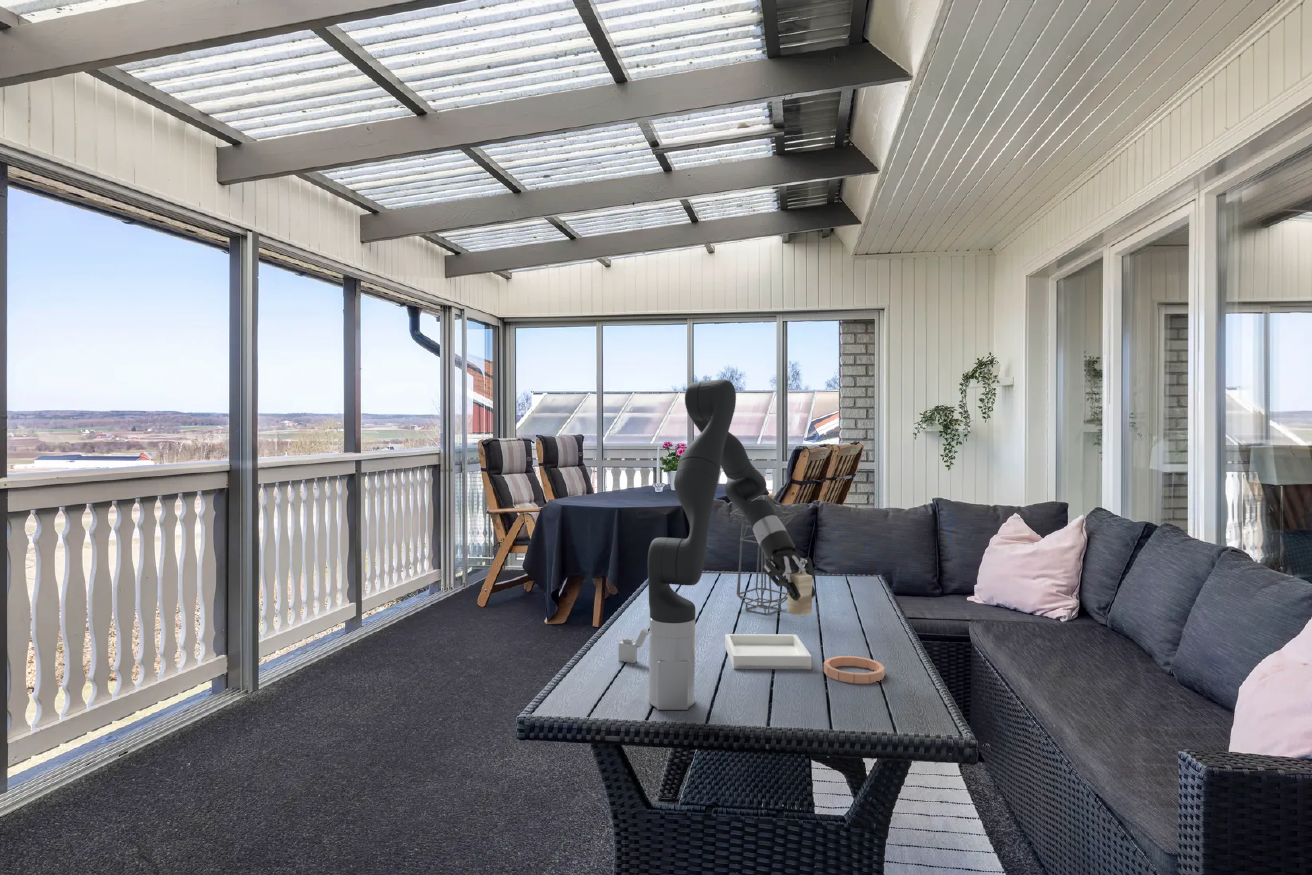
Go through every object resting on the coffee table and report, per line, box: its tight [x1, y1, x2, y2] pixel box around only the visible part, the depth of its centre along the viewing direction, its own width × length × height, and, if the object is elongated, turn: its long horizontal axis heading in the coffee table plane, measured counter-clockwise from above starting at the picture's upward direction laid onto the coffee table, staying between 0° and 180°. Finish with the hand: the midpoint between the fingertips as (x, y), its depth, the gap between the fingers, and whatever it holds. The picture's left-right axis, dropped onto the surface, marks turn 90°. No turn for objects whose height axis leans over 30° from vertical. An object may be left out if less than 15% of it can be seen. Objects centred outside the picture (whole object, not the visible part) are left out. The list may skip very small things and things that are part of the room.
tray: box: [724, 633, 813, 670], centre depth 188 cm, size 18×18×3 cm
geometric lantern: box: [729, 494, 798, 615], centre depth 233 cm, size 16×16×35 cm
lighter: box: [618, 628, 650, 664], centre depth 183 cm, size 7×2×8 cm, turn 69°
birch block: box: [786, 572, 813, 617], centre depth 183 cm, size 4×4×9 cm
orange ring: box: [823, 655, 886, 685], centre depth 176 cm, size 13×13×2 cm
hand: (805, 597), depth 181 cm, fingers closed on birch block, 4 cm apart
